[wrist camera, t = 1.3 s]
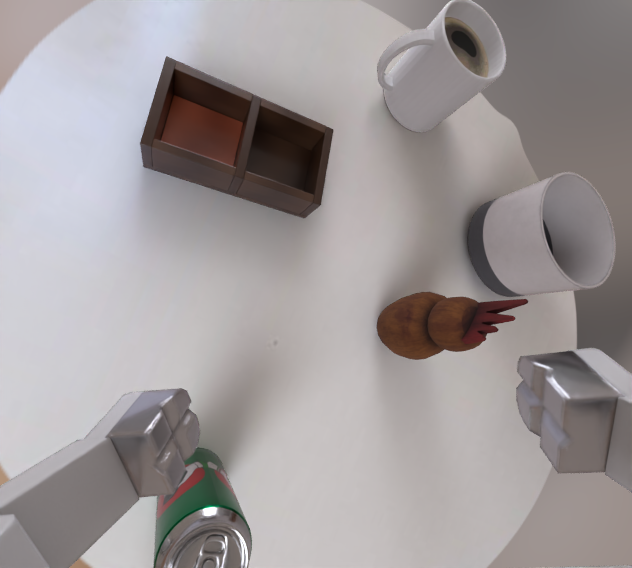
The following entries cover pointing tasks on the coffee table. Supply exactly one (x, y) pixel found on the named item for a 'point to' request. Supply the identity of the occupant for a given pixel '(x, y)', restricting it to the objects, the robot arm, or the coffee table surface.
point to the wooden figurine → (439, 323)
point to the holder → (235, 141)
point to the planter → (543, 238)
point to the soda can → (201, 520)
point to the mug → (442, 65)
